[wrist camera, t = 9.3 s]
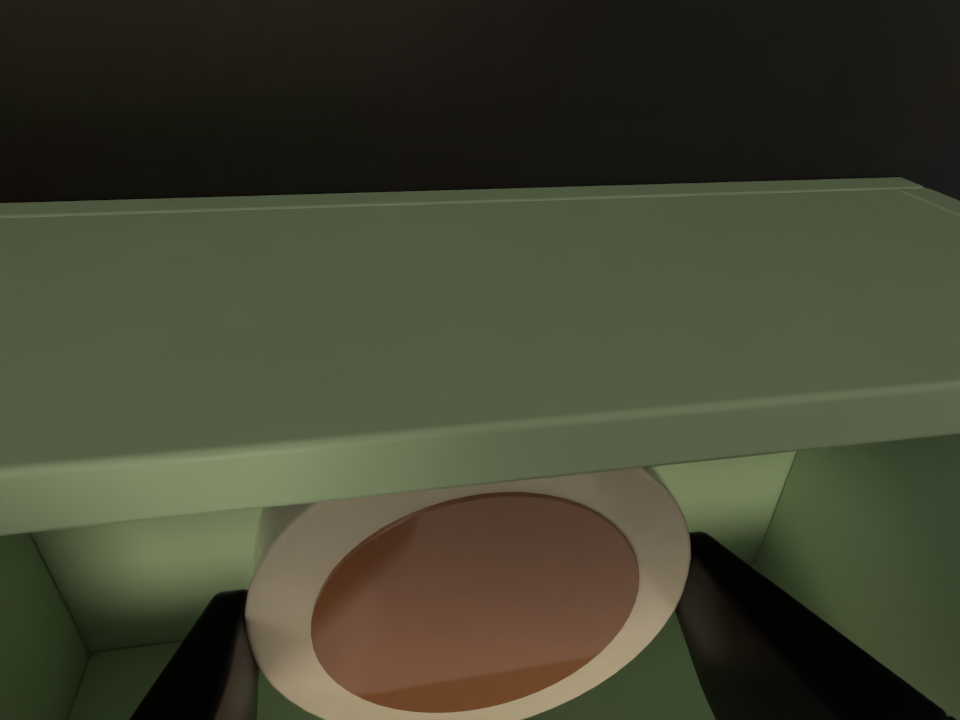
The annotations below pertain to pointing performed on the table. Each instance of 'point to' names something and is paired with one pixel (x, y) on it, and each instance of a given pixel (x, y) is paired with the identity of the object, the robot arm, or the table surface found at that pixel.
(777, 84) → the table surface
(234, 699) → the robot arm
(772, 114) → the table surface
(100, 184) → the table surface
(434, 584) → the brown-topped cream cylinder
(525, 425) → the tub
